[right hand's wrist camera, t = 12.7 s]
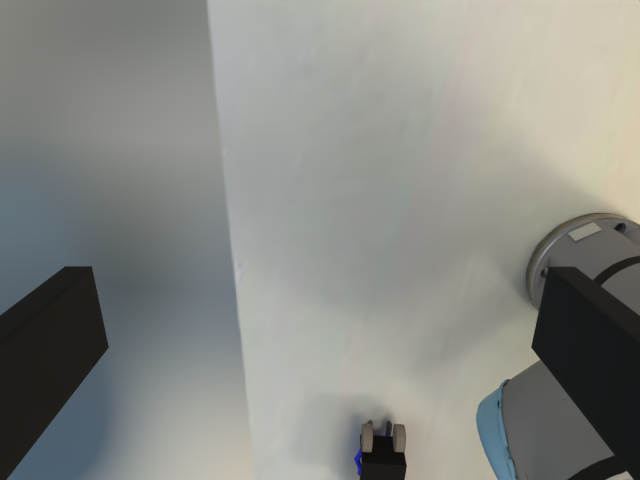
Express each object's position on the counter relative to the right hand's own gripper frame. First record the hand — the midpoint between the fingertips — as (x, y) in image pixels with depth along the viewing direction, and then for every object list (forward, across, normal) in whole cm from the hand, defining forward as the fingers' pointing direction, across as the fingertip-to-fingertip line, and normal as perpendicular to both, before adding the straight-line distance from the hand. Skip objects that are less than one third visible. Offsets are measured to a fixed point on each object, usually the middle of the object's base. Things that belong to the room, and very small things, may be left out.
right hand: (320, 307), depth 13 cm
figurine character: (+38, -8, +46) cm, 61 cm away
